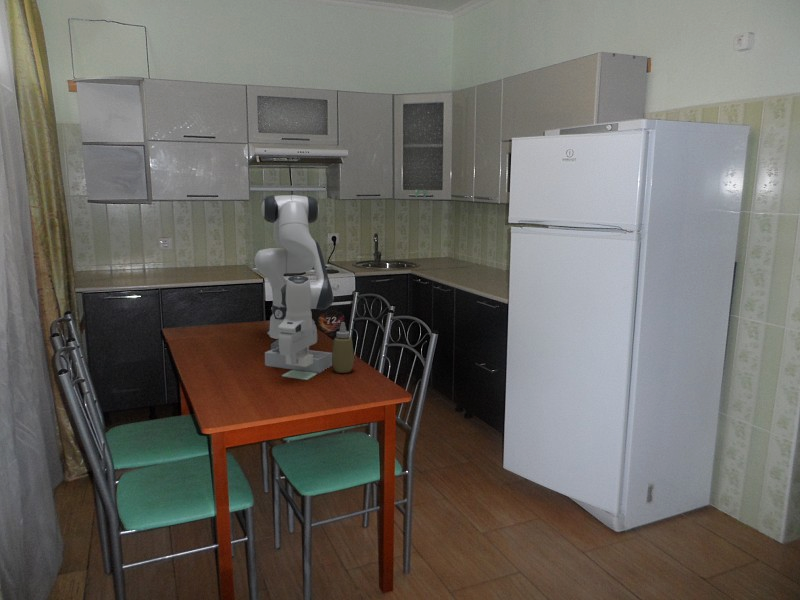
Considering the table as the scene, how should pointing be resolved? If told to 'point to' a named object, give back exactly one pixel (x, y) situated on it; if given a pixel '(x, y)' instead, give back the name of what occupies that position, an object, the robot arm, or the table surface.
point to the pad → (299, 374)
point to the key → (275, 344)
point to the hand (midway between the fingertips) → (299, 361)
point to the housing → (319, 364)
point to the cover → (301, 359)
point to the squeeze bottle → (342, 351)
